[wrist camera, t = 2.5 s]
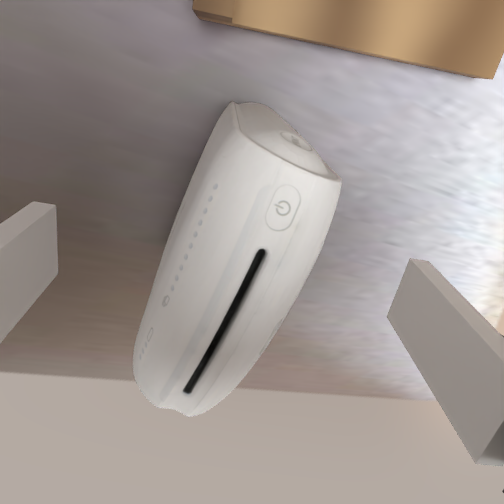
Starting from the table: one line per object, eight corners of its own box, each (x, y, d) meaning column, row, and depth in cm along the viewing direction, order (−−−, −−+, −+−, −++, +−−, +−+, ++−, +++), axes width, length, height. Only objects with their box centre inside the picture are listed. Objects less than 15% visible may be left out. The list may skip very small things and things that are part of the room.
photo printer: (228, 83, 19) (230, 117, 8) (304, 121, 20) (395, 197, 9) (158, 253, 23) (96, 431, 12) (224, 278, 24) (223, 463, 13)
